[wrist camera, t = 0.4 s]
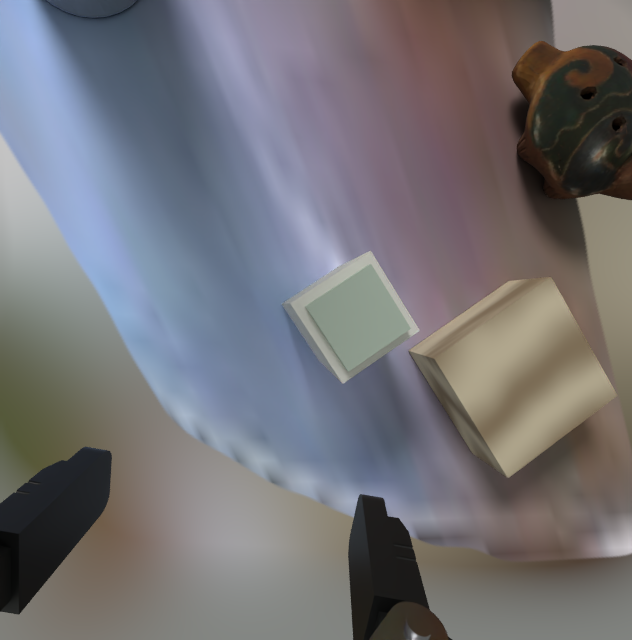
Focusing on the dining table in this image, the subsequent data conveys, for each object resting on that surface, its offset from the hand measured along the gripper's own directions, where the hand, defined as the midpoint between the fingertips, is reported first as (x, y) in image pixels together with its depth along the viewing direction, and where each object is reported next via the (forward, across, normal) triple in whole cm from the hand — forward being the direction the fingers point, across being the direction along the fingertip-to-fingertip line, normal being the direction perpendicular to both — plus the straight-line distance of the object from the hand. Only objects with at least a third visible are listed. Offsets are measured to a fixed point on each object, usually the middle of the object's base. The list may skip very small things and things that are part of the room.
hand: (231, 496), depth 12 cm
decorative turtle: (+27, -20, -19) cm, 38 cm away
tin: (+21, -3, -2) cm, 21 cm away
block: (+22, -18, 0) cm, 28 cm away
